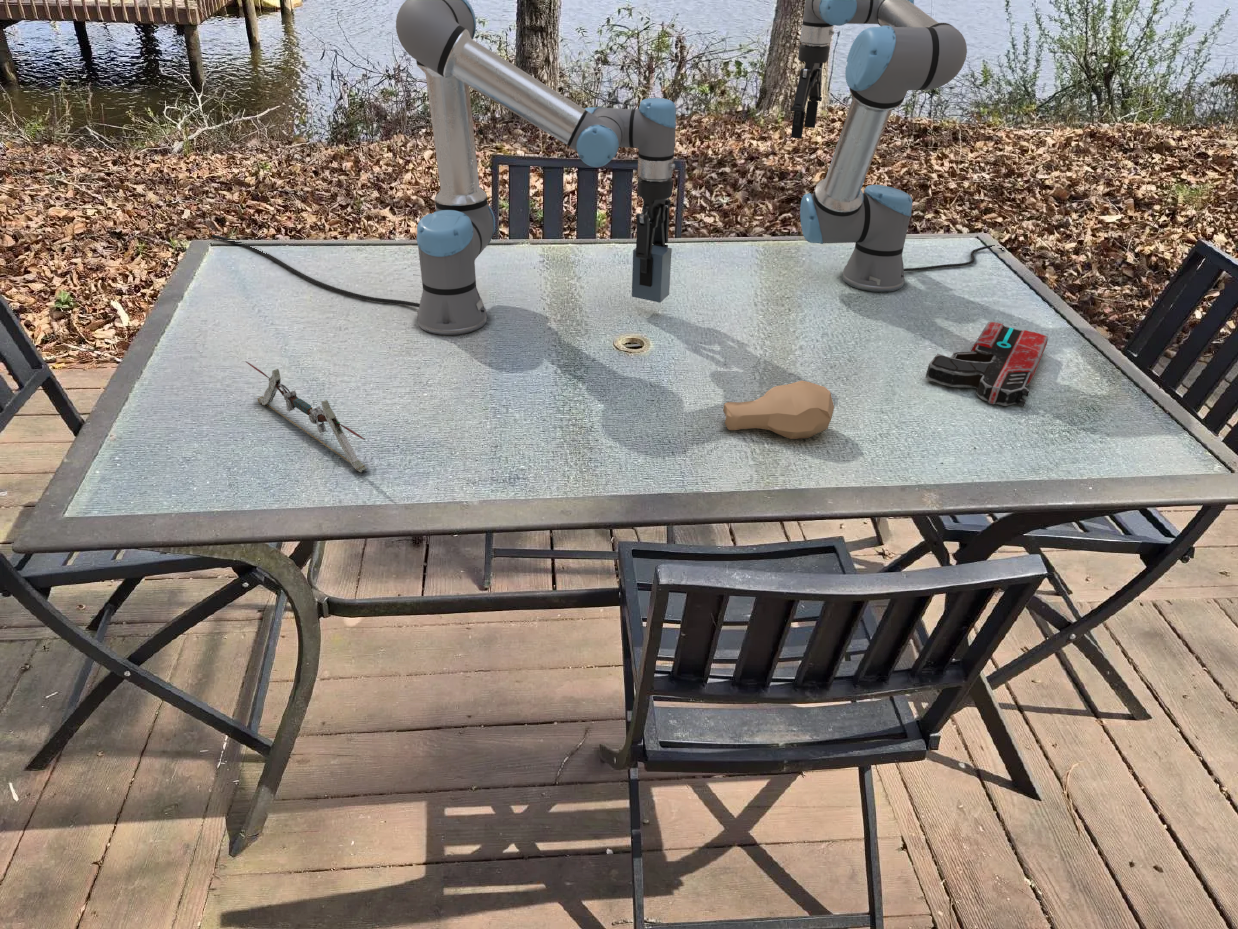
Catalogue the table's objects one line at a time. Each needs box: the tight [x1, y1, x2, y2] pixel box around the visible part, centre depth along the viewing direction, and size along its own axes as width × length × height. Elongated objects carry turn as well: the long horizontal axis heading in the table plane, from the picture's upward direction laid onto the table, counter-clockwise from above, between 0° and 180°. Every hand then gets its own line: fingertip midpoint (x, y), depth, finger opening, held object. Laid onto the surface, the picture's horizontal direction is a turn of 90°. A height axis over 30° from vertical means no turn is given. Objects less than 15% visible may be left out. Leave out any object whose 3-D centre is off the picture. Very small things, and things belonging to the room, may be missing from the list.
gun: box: [925, 320, 1049, 407], centre depth 183 cm, size 4×31×19 cm
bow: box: [244, 360, 368, 473], centre depth 153 cm, size 39×2×10 cm, turn 47°
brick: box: [631, 245, 673, 303], centre depth 198 cm, size 7×5×11 cm
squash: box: [722, 380, 835, 440], centre depth 159 cm, size 11×20×9 cm, turn 90°
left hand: (650, 280), depth 199 cm, fingers closed on brick, 5 cm apart
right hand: (802, 132), depth 231 cm, fingers open, 13 cm apart
